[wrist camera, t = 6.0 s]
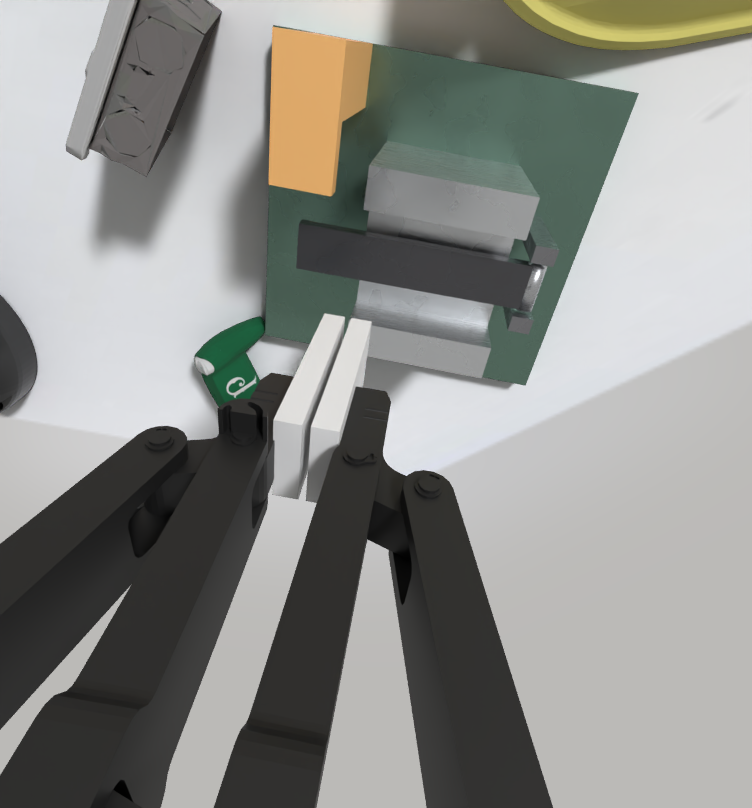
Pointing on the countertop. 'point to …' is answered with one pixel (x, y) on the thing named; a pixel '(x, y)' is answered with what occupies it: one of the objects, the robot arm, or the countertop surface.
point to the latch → (313, 105)
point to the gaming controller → (230, 361)
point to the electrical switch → (139, 78)
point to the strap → (418, 265)
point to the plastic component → (636, 21)
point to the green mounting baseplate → (451, 205)
